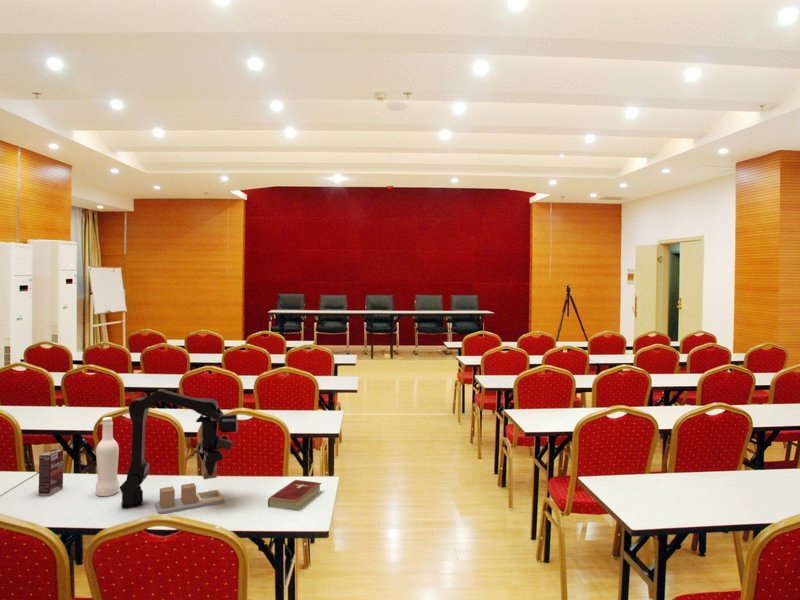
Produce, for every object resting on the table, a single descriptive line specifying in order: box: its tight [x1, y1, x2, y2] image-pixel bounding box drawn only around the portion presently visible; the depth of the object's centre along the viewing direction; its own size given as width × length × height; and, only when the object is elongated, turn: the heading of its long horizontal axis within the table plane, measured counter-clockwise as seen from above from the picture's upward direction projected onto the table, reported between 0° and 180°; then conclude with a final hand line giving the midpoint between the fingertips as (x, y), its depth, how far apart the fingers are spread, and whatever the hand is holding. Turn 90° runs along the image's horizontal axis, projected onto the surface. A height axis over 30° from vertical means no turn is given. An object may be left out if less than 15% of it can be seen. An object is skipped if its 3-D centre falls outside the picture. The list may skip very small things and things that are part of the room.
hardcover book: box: [267, 479, 322, 511], centre depth 216 cm, size 12×21×4 cm, turn 163°
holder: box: [154, 482, 225, 515], centre depth 209 cm, size 23×10×7 cm, turn 121°
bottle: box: [95, 416, 120, 497], centre depth 219 cm, size 8×8×30 cm
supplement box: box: [38, 448, 64, 497], centre depth 220 cm, size 9×5×16 cm, turn 0°
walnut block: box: [201, 460, 218, 480], centre depth 213 cm, size 4×4×6 cm
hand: (209, 473), depth 213 cm, fingers closed on walnut block, 4 cm apart
